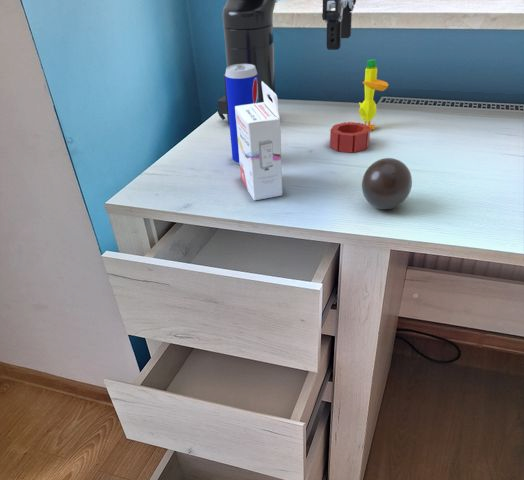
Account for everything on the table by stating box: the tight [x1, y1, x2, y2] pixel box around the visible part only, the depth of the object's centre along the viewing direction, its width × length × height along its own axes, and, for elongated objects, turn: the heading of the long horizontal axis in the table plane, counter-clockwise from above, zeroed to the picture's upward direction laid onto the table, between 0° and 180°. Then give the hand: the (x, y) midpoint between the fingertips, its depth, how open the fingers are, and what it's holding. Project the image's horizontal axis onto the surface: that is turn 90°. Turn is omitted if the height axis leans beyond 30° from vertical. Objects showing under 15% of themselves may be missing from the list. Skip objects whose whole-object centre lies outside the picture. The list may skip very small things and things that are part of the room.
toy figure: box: [358, 58, 389, 132], centre depth 97 cm, size 7×4×12 cm, turn 37°
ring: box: [329, 121, 371, 154], centre depth 94 cm, size 7×7×3 cm
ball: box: [361, 157, 413, 210], centre depth 74 cm, size 7×7×7 cm
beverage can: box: [224, 64, 259, 166], centre depth 87 cm, size 5×5×15 cm
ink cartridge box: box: [235, 81, 283, 201], centre depth 78 cm, size 9×5×15 cm, turn 17°
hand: (339, 43), depth 87 cm, fingers open, 8 cm apart
